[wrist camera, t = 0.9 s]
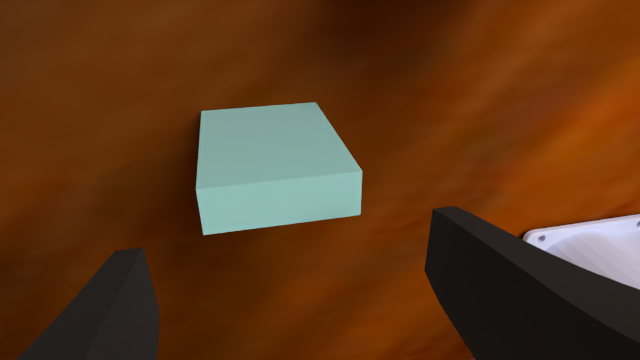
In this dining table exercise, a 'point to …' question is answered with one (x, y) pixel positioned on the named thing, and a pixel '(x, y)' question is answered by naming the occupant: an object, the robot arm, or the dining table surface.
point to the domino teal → (273, 168)
